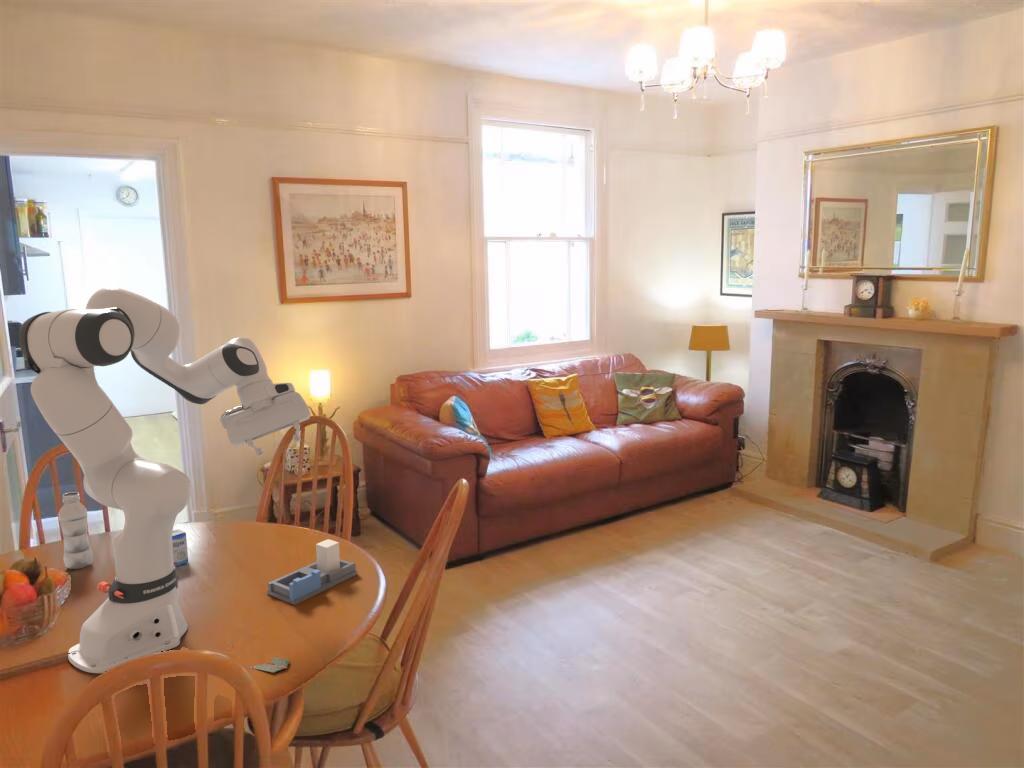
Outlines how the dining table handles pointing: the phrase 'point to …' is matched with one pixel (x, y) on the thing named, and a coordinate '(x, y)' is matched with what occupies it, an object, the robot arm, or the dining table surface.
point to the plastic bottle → (75, 532)
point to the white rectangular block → (328, 556)
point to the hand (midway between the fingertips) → (279, 448)
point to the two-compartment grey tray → (309, 582)
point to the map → (273, 665)
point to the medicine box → (179, 547)
